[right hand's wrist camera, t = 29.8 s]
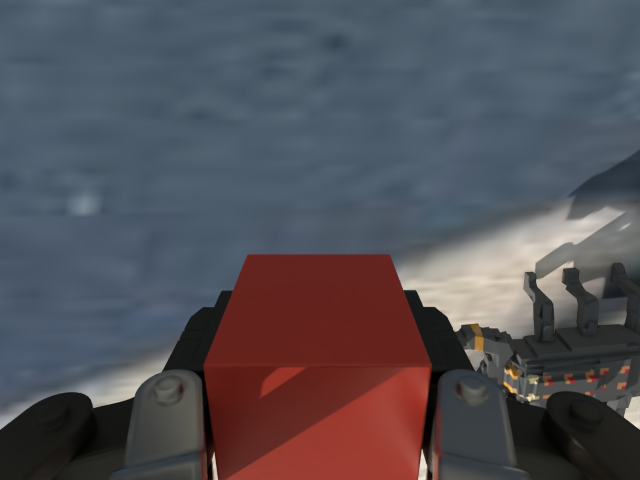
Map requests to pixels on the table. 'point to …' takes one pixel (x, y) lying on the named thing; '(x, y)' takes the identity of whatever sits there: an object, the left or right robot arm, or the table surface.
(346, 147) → the table surface
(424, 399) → the block
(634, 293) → the toy
